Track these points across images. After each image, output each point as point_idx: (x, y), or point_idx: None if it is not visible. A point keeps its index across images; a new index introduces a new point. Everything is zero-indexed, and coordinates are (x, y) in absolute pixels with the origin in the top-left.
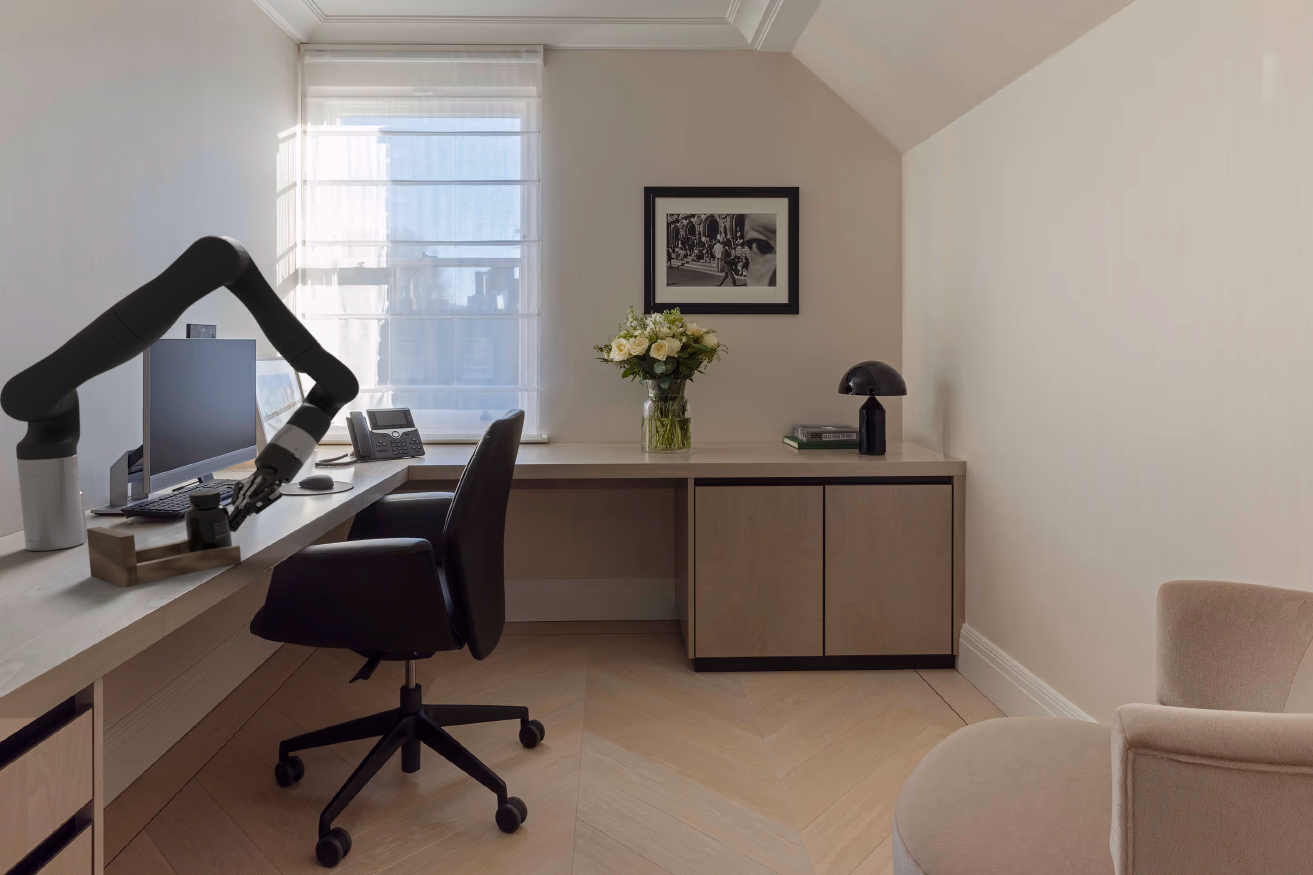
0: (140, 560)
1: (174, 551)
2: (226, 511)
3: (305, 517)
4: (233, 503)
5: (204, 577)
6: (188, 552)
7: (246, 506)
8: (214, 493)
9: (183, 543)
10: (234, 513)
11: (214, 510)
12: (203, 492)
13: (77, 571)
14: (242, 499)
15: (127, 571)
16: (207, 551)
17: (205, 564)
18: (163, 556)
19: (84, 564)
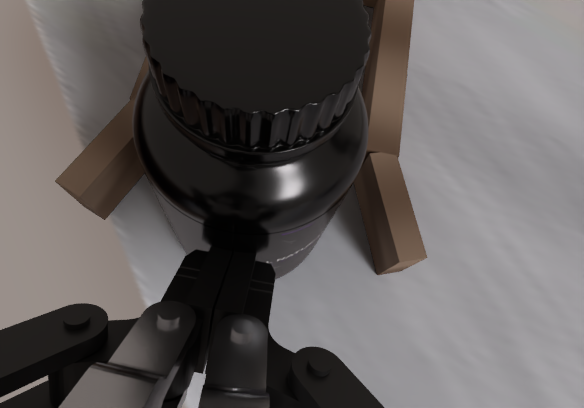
0: (371, 58)
1: None
2: (141, 162)
3: None
4: (298, 353)
5: (74, 54)
6: (365, 206)
7: (97, 307)
8: (144, 16)
9: (372, 172)
10: (205, 282)
11: (149, 75)
12: (275, 19)
13: (485, 10)
14: (207, 375)
15: None
16: (133, 91)
17: None
18: None
19: (551, 58)
